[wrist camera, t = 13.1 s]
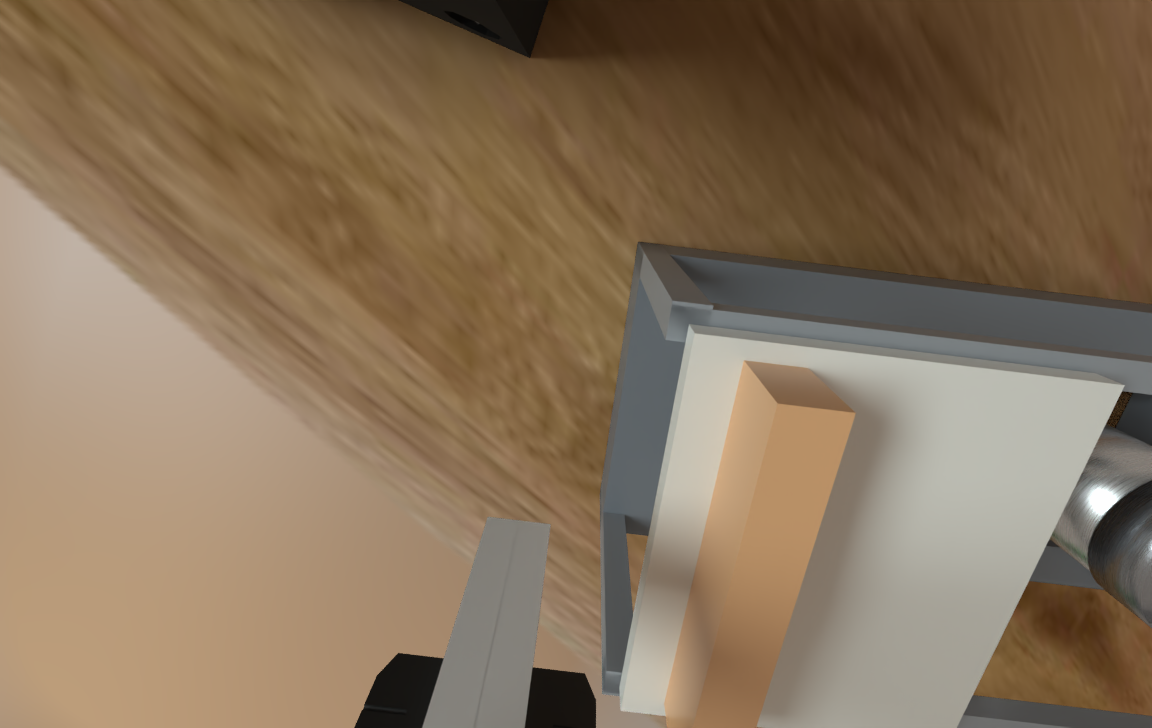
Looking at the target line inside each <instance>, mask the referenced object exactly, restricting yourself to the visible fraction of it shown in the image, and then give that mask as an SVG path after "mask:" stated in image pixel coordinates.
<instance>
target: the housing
mask: <svg viewBox="0 0 1152 728" xmlns="http://www.w3.org/2000/svg"><path fill="white" fill-rule="evenodd" d="M689 324H693V325H701V326H709V327H718V328H726V329H734V330H742V331H751V332H759V333H767V334H776V335H784V336H792V337H800V338H809V339H817V340H825V341H833V342H842V343H850V344H858V345H867V346H875V347H883V348H891V349H900V350H908V351H916V352H924V353H933V354H941V355H949V356H958V357H966V358H974V359H982V360H991V361H999V362H1007V363H1015V364H1024V365H1032V366H1040V367H1049V368H1057V369H1065V370H1073V371H1082V372H1090V373H1096V374H1098V375H1101V376H1103V377H1106V378H1108V379H1111V380H1113V381H1116V382H1118V383H1121V384H1123V385H1125V386H1124V388H1123V390H1122V391H1125V392H1133V394H1132V396H1131V398H1130V400H1129V402H1128V404H1127V406H1126V408H1125V410H1124V412H1123V414H1122V416H1121V418H1120V420H1119V422H1118V424H1117V426H1116V429H1118V430H1120V431H1122V432H1124V433H1126V434H1128V435H1130V436H1132V437H1134V438H1136V439H1138V440H1140V441H1142V442H1145V443H1147V444H1149V445H1151V446H1152V304H1145V303H1137V302H1128V301H1120V300H1112V299H1104V298H1095V297H1087V296H1079V295H1071V294H1063V293H1054V292H1046V291H1038V290H1030V289H1022V288H1013V287H1005V286H997V285H989V284H980V283H972V282H964V281H956V280H948V279H939V278H931V277H923V276H915V275H907V274H898V273H890V272H882V271H874V270H865V269H857V268H849V267H841V266H833V265H824V264H816V263H808V262H800V261H792V260H783V259H775V258H767V257H759V256H750V255H742V254H734V253H726V252H718V251H709V250H701V249H693V248H685V247H677V246H668V245H660V244H652V243H644V242H638V245H637V252H636V259H635V265H634V272H633V278H632V285H631V292H630V298H629V305H628V312H627V318H626V325H625V331H624V338H623V345H622V351H621V358H620V364H619V371H618V378H617V384H616V391H615V398H614V404H613V411H612V417H611V424H610V431H609V437H608V444H607V450H606V457H605V464H604V470H603V477H602V483H601V490H600V546H601V629H602V694H606V695H614V696H620V690H619V686H620V681H621V676H622V671H623V666H624V660H625V655H626V650H627V645H628V639H629V634H630V629H631V624H632V619H633V610H632V598H631V586H630V574H629V562H628V550H627V538H626V533H629V534H638V535H646V536H648V535H649V530H650V525H651V520H652V514H653V509H654V504H655V499H656V494H657V488H658V483H659V478H660V473H661V468H662V462H663V457H664V452H665V447H666V442H667V436H668V431H669V426H670V421H671V415H672V410H673V405H674V400H675V395H676V389H677V384H678V379H679V374H680V369H681V363H682V358H683V353H684V348H685V343H686V337H687V332H688V327H689ZM1029 581H1035V582H1043V583H1052V584H1060V585H1068V586H1077V587H1085V588H1094V589H1102V590H1104V589H1103V588H1102V587H1101V586H1100V585H1098V584H1097V582H1096V581H1095V580H1094V578H1093V576H1092V574H1091V572H1090V571H1089V570H1088V569H1087V568H1086V567H1084V566H1083V565H1082V564H1080V563H1079V562H1078V561H1077V560H1075V559H1074V558H1073V557H1072V556H1070V555H1069V554H1068V553H1067V552H1065V551H1064V550H1063V549H1062V548H1060V547H1059V546H1058V545H1056V544H1055V543H1054V542H1053V541H1051V540H1050V539H1049V541H1048V543H1047V545H1046V547H1045V549H1044V551H1043V553H1042V555H1041V557H1040V559H1039V561H1038V563H1037V565H1036V567H1035V569H1034V571H1033V573H1032V575H1031V578H1030V580H1029ZM957 728H1152V716H1146V715H1137V714H1129V713H1120V712H1112V711H1103V710H1095V709H1086V708H1078V707H1069V706H1061V705H1052V704H1043V703H1035V702H1026V701H1018V700H1009V699H1001V698H992V697H984V696H975V695H973V696H972V698H971V700H970V702H969V704H968V706H967V708H966V710H965V712H964V714H963V716H962V718H961V720H960V722H959V724H958V726H957Z"/></svg>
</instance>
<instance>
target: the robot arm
mask: <svg viewBox="0 0 1152 728" xmlns="http://www.w3.org/2000/svg"><path fill="white" fill-rule="evenodd" d="M550 525H551V524H543V523H535V522H527V521H519V520H510V519H502V518H494V517H488V518H487V521H486V525H485V528H484V531H483V534H482V538H481V541H480V544H479V547H478V550H477V554H476V557H475V560H474V563H473V566H472V570H471V573H470V576H469V579H468V583H467V586H466V589H465V592H464V595H463V599H462V602H461V605H460V608H459V611H458V615H457V618H456V621H455V624H454V627H453V631H452V634H451V637H450V640H449V644H448V647H447V650H446V653H445V656H444V658H434V657H427V656H418V655H410V654H402V653H398V654H397V655H396V656H395V657H394V658H393V659H392V660H391V661H390V662H389V664H388V665H387V666H386V667H385V668H384V669H383V670H382V671H381V672H380V673H379V674H378V675H377V677H376V679H375V681H374V684H373V686H372V688H371V690H370V693H369V695H368V698H367V700H366V702H365V704H364V709H363V710H362V711H361V714H360V716H359V718H358V721H357V723H356V725H355V728H596V699H595V697H594V695H593V692H592V690H591V687H590V685H589V682H588V680H587V678H586V675H585V674H584V673H575V672H567V671H558V670H550V669H542V668H533V662H534V654H535V646H536V638H537V631H538V623H539V615H540V607H541V599H542V590H543V582H544V574H545V566H546V558H547V549H548V541H549V533H550Z"/></svg>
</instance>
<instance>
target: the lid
mask: <svg viewBox="0 0 1152 728" xmlns="http://www.w3.org/2000/svg"><path fill="white" fill-rule="evenodd" d="M1124 386H1125V385H1123V384H1121V383H1118V382H1116V381H1113V380H1111V379H1108V378H1106V377H1103V376H1101V375H1098V374H1096V373H1090V372H1082V371H1073V370H1065V369H1057V368H1049V367H1040V366H1032V365H1024V364H1015V363H1007V362H999V361H991V360H982V359H974V358H966V357H958V356H949V355H941V354H933V353H924V352H916V351H908V350H900V349H891V348H883V347H875V346H867V345H858V344H850V343H842V342H833V341H825V340H817V339H809V338H800V337H792V336H784V335H776V334H767V333H759V332H751V331H742V330H734V329H726V328H718V327H709V326H701V325H693V324H689V327H688V332H687V337H686V343H685V348H684V353H683V358H682V363H681V369H680V374H679V379H678V384H677V389H676V395H675V400H674V405H673V410H672V415H671V421H670V426H669V431H668V436H667V442H666V447H665V452H664V457H663V462H662V468H661V473H660V478H659V483H658V488H657V494H656V499H655V504H654V509H653V514H652V520H651V525H650V530H649V535H648V541H647V546H646V551H645V556H644V561H643V567H642V572H641V577H640V582H639V587H638V593H637V598H636V603H635V608H634V613H633V619H632V624H631V629H630V634H629V639H628V645H627V650H626V655H625V660H624V666H623V671H622V676H621V681H620V686H619V690H620V710H621V711H627V712H636V713H644V714H653V715H662V716H666V722H667V728H756V727H765V728H957V726H958V724H959V722H960V720H961V718H962V716H963V714H964V712H965V710H966V708H967V706H968V704H969V702H970V700H971V698H972V696H973V694H974V692H975V689H976V687H977V685H978V683H979V681H980V679H981V677H982V675H983V673H984V671H985V669H986V667H987V665H988V663H989V661H990V659H991V657H992V655H993V653H994V651H995V649H996V647H997V645H998V643H999V641H1000V639H1001V637H1002V635H1003V632H1004V630H1005V628H1006V626H1007V624H1008V622H1009V620H1010V618H1011V616H1012V614H1013V612H1014V610H1015V608H1016V606H1017V604H1018V602H1019V600H1020V598H1021V596H1022V594H1023V592H1024V590H1025V588H1026V586H1027V584H1028V582H1029V580H1030V578H1031V575H1032V573H1033V571H1034V569H1035V567H1036V565H1037V563H1038V561H1039V559H1040V557H1041V555H1042V553H1043V551H1044V549H1045V547H1046V545H1047V543H1048V541H1049V539H1050V537H1051V535H1052V533H1053V531H1054V529H1055V527H1056V525H1057V523H1058V520H1059V518H1060V516H1061V514H1062V512H1063V510H1064V508H1065V506H1066V504H1067V502H1068V500H1069V498H1070V496H1071V494H1072V492H1073V490H1074V488H1075V486H1076V484H1077V482H1078V480H1079V478H1080V476H1081V474H1082V472H1083V470H1084V468H1085V466H1086V463H1087V461H1088V459H1089V457H1090V455H1091V453H1092V451H1093V449H1094V447H1095V445H1096V443H1097V441H1098V439H1099V437H1100V435H1101V433H1102V431H1103V429H1104V427H1105V425H1106V423H1107V421H1108V419H1109V417H1110V415H1111V413H1112V411H1113V409H1114V406H1115V404H1116V402H1117V400H1118V398H1119V396H1120V394H1121V392H1122V390H1123V388H1124Z"/></svg>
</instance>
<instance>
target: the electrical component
mask: <svg viewBox="0 0 1152 728" xmlns="http://www.w3.org/2000/svg"><path fill="white" fill-rule="evenodd" d="M399 1H402V2H404V3H406V4H408V5H411V6H413V7H415V8H418V9H420V10H422V11H424V12H427V13H429V14H431V15H433V16H436V17H438V18H440V19H443V20H445V21H447V22H449V23H452V24H454V25H456V26H458V27H461V28H463V29H465V30H467V31H470V32H472V33H474V34H477V35H479V36H481V37H483V38H486V39H488V40H490V41H492V42H495V43H497V44H499V45H502V46H504V47H506V48H508V49H511V50H513V51H515V52H517V53H520V54H522V55H524V56H527V57H529V58H530V56H531V53H532V50H533V47H534V44H535V41H536V38H537V35H538V32H539V28H540V25H541V22H542V19H543V16H544V13H545V10H546V7H547V4H548V1H549V0H399Z"/></svg>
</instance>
